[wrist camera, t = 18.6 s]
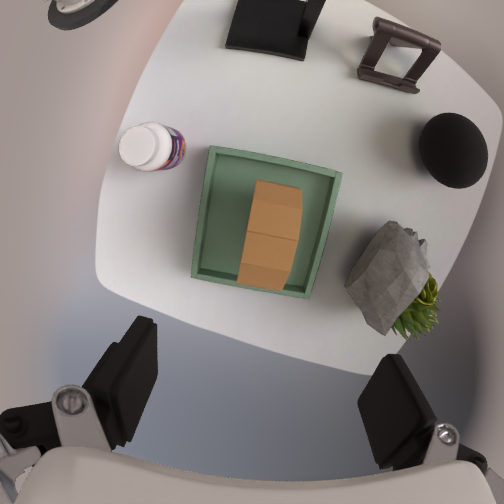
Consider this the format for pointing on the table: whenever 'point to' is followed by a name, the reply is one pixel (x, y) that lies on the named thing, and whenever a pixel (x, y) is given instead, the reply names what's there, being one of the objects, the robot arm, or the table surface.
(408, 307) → the potted plant
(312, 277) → the tray
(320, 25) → the table surface
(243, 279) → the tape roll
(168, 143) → the pill bottle
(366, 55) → the tablet stand
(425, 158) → the decorative ball
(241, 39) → the hook rack
